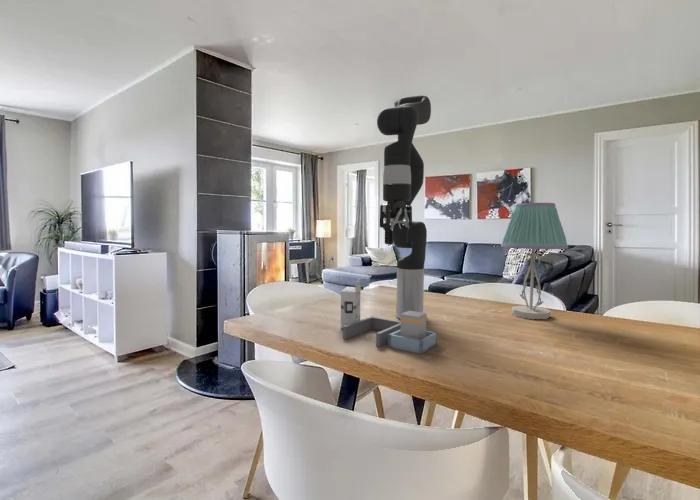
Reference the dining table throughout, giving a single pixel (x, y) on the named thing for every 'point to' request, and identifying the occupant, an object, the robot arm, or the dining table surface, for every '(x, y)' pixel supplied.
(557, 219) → the table lamp
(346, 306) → the ink box
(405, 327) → the tan-banded grey block
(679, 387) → the dining table surface
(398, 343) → the tray
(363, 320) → the bay
